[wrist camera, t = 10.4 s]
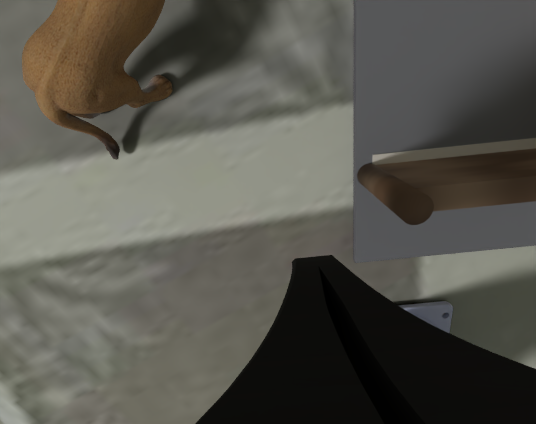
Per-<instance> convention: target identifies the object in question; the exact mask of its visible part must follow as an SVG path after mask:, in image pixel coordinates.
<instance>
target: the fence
mask: <svg viewBox="0 0 536 424" xmlns="http://www.w3.org/2000/svg"><path fill="white" fill-rule="evenodd" d="M357 179H358V181H359V183H360V184H361V185H363V186H364V187H365V188H366V189H367V190H368V191H369V192H371V193H372V194H373V195H374V196H375V197H376V198H377V199H379V200H380V201H381V202H382V203H383V204H384V205H385V206H387V207H388V208H389V209H390V210H391V211H392V212H394V213H395V214H396V215H397V216H398V217H399V218H400V219H402V220H403V221H404V222H405V223H407V224H409V225H418V224H421V223H423V222H425V221H426V220H428V219H429V218H430V216H431V215H432V213H433V211H443V210H453V209H463V208H473V207H483V206H493V205H503V204H513V203H524V202H534V201H536V148H535V149H525V150H515V151H506V152H496V153H486V154H476V155H467V156H457V157H447V158H437V159H428V160H418V161H408V162H399V163H389V164H379V165H375V164H371V163H369V164H365V165H363V166H362V167H361V168H360V169H359V171H358V173H357Z"/></svg>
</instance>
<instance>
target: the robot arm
mask: <svg viewBox="0 0 536 424" xmlns="http://www.w3.org/2000/svg"><path fill="white" fill-rule="evenodd" d="M444 313H445V314H444ZM452 313H453V306H452V305H451V304H450V303H449V302H447V301H441V302H430V303H420V304H409V305H399V306H398V305H396V304H395V303H393V302H392V301H390V300H389V299H387V298H386V297H384V296H383V295H381V294H380V293H378V292H377V291H375V290H374V289H373V288H371V287H370V286H369V285H367V284H366V283H365V282H363V281H362V280H361V279H360V278H358V277H357V276H356V275H355V274H353V273H352V272H351V271H350V270H349V269H347V268H346V267H345V266H344V265H343V264H342V263H340V262H339V261H338V260H337V259H336V258H334V257H333V256H332V255H327V256H317V257H307V258H297V259H294V260H293V261H292V274H291V279H290V283H289V286H288V289H287V292H286V295H285V298H284V300H283V303H282V305H281V308H280V310H279V312H278V315H277V317H276V319H275V321H274V323H273V325H272V327H271V328H270V330H269V332H268V334H267V335H266V337H265V339H264V340H263V342H262V343H261V345H260V347H259V348H258V350H257V351H256V353H255V354H254V356H253V357H252V359H251V360H250V361H249V363H248V364H247V365H246V367H245V368H244V369H243V370H242V372H241V373H240V374H239V376H238V377H237V378H236V379H235V381H234V382H233V383H232V384H231V386H230V387H229V388H228V389H227V390H226V392H225V393H224V394H223V395H222V396H221V397H220V398H219V399H218V400H217V401H216V403H215V404H214V405H213V406H212V407H211V408H210V409H209V410H208V411H207V412H206V413H205V414H204V415H203V416H202V417H201V418H200V419H199V420H198V421H197V423H196V424H536V369H534V368H531V367H529V366H526V365H523V364H521V363H518V362H516V361H513V360H510V359H508V358H505V357H503V356H500V355H498V354H495V353H492V352H490V351H488V350H485V349H483V348H481V347H478V346H476V345H473V344H471V343H469V342H467V341H464V340H462V339H460V338H458V337H456V336H454V335H452V334H450V326H451V319H452ZM443 314H444V315H443Z"/></svg>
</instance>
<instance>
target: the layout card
mask: <svg viewBox="0 0 536 424" xmlns="http://www.w3.org/2000/svg"><path fill="white" fill-rule="evenodd" d="M535 148H536V0H354V242H353V260H354V262H355V263H359V262H369V261H379V260H389V259H400V258H410V257H420V256H431V255H441V254H451V253H462V252H472V251H482V250H492V249H503V248H513V247H523V246H534V245H536V201H534V202H524V203H513V204H503V205H493V206H483V207H473V208H463V209H453V210H443V211H433V213H432V215H431V216H430V218H429V219H428V220H426V221H425V222H423V223H421V224H418V225H409V224H407V223H405V222H404V221H403V220H402V219H400V218H399V217H398V216H397V215H396V214H395V213H394V212H392V211H391V210H390V209H389V208H388V207H387V206H385V205H384V204H383V203H382V202H381V201H380V200H379V199H377V198H376V197H375V196H374V195H373V194H372V193H371V192H369V191H368V190H367V189H366V188H365V187H364V186H363V185H361V184H360V183H359V181H358V179H357V173H358V171H359V169H360V168H361V167H362V166H363V165H365V164H369V163H371V164H375V165H379V164H389V163H399V162H408V161H418V160H428V159H437V158H447V157H457V156H467V155H476V154H486V153H496V152H506V151H515V150H525V149H535Z"/></svg>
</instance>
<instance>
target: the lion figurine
mask: <svg viewBox="0 0 536 424" xmlns="http://www.w3.org/2000/svg"><path fill="white" fill-rule="evenodd" d="M164 2H165V0H58V2H57V4H56V6H55V9H54V10H53V12H52V14H51V15H50V17H49V18H48V19H47V20H46V21H45V22H44V23H43V24H42V25H41V26H40V27H39V28H38V29H37V30H36V31H35V32H34V34H33V35H32V36H31V37H30V38H29V40H28V41H27V43H26V44H25V47H24V50H23V55H22V67H23V78H24V81H25V83H26V85H27V86H28V87H29V88H30V89H31V90H33V91H34V92H35V97H36V100H37V103H38V106H39V107H40V109H41V111H42V112H43V113H44V114H45V115H46V116H47V117H48V118H49V119H50V120H51V121H52V122H54V123H56V124H57V125H60V126H62V127H65V128H68V129H72V130H76V131H80V132H83V133H87V134H90V135H93V136H95V137H96V138H98V139H99V140H100V141H102V142H103V143H104V145H105V146H106V149H107V150H108V151H109V152H110V154H111V156H112V157H113V159H118V155H119V151H120V149H119V146H118V144H117V142H116V141H115V140H114V139H113V138H112V137H111V136H110V135H109V134H108V133H106V132H104V131H103V130H101V129H100V128H98V127H96V126H94V125H92V124H90V123H88V122H86V121H84V120H81V119H79V118H77V117H76V116H79V117H83V118H89V119H91V118H94V117H96V116H98V115H100V113H102V112H107V111H111V110H114V109H116V108H118V107H120V106H122V105H124V104H128V105H129V106H131V107H133V108H137V107H140V106H143V105H145V104H148V103H150V102H155V101H160V100H163V99H165V98H167V97H168V96H169V95H170V94H171V93H172V91H173V89H172V83H171V82H170V81H169V80H168V79H167V78H165V77H164V76H161V75H156V76H154V77H153V78H152V79H151V81H150V82H149V84H148V86H147V87H146V88H145V89H143V90H141V88H140V86H139V84H138V82H137V81H136V80H135V79H134V78H132V77H131V76H129V75H128V74H127V73H126V72H125V71H124V67H123V66H124V63H125V61H126V59H127V58H128V57H129V55H130V54H131V53H132V52H133V50H134V49H135V48H136V47H137V46H138V45H139V44H140V43H141V42H142V41H143V40H144V39H145V38H146V37H147V35H148V34H149V33H150V32H151V30H152V28H153V27H154V25H155V23H156V21H157V19H158V18H159V16H160V13H161V11H162V8H163V5H164Z"/></svg>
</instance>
